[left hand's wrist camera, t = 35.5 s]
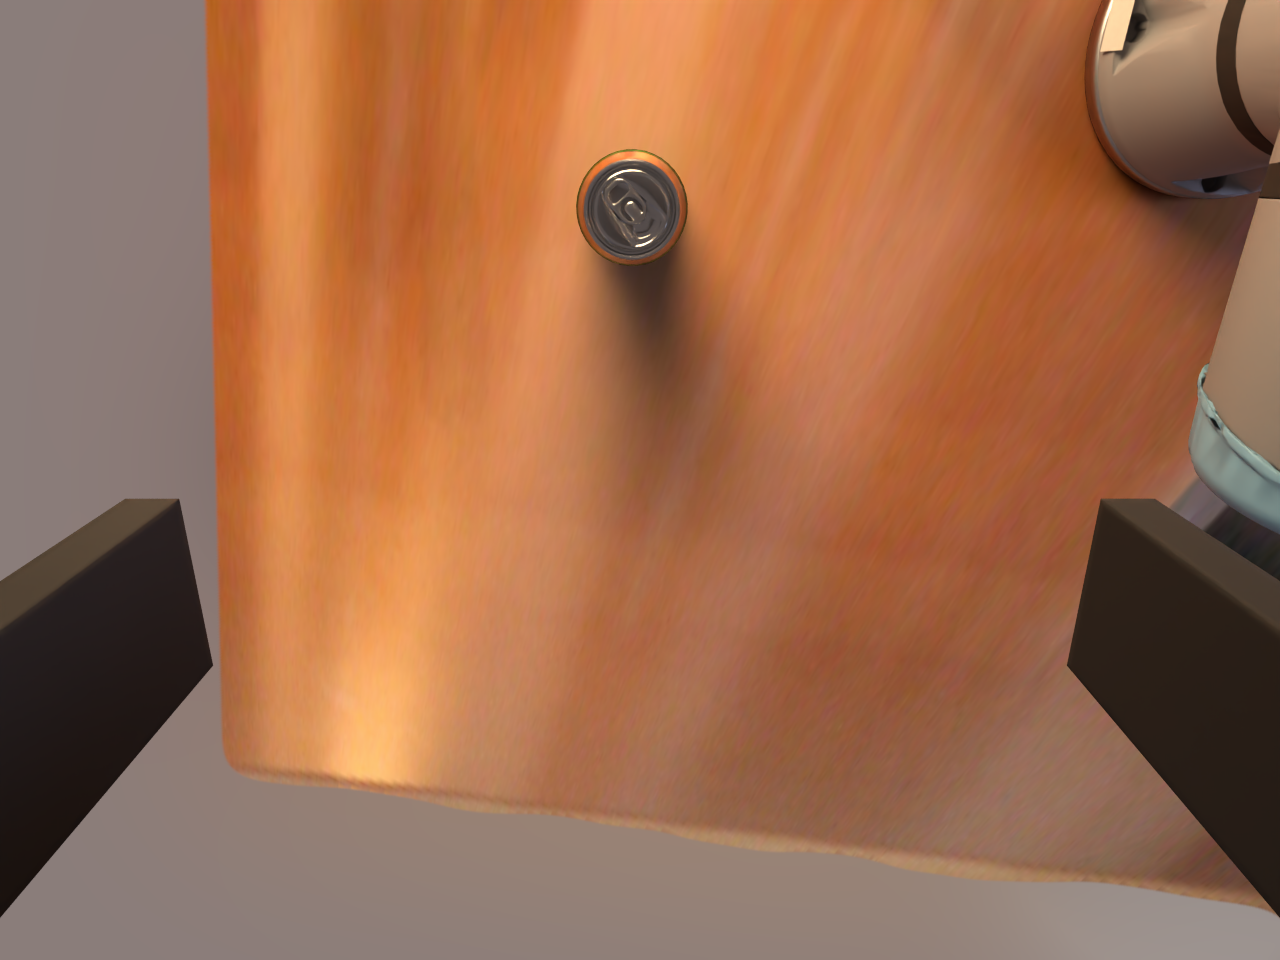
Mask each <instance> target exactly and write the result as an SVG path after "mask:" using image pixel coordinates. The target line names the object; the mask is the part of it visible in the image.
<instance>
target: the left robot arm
mask: <svg viewBox="0 0 1280 960" xmlns="http://www.w3.org/2000/svg"><path fill="white" fill-rule="evenodd" d="M1085 93H1086V100H1087V107H1088V111H1089V115H1090V119H1091V122H1092V125H1093V128H1094V130H1095V133H1096V135H1097V137H1098V139H1099V141H1100V143H1101V145H1102V146H1103V148H1104V149H1105V151H1106V153H1107V154H1108V155H1109V157H1110V158H1111V159H1112V160H1113V162H1114V163H1115V164H1116V165H1117V166H1118V167H1119V168H1120V169H1121V170H1122V171H1123V172H1124V173H1125V174H1127V175H1128V176H1129V177H1131V178H1132V179H1133V180H1135V181H1137V182H1138V183H1140V184H1142V185H1143V186H1145V187H1148V188H1150V189H1152V190H1155V191H1157V192H1160V193H1164V194H1167V195H1172V196H1177V197H1187V198H1201V199H1219V198H1228V197H1235V196H1240V195H1245V194H1250V193H1254V192H1258V191H1261V193H1260V196H1259V197H1260V198H1258V202H1257V205H1256V209H1255V212H1254V215H1253V219H1252V222H1251V225H1250V229H1249V232H1248V235H1247V239H1246V242H1245V245H1244V249H1243V252H1242V255H1241V259H1240V262H1239V265H1238V269H1237V272H1236V275H1235V279H1234V282H1233V285H1232V289H1231V292H1230V296H1229V299H1228V302H1227V306H1226V309H1225V312H1224V316H1223V319H1222V322H1221V326H1220V329H1219V332H1218V336H1217V339H1216V342H1215V346H1214V349H1213V352H1212V356H1211V359H1210V362H1209V363H1208V364H1206V365H1205V366H1204V367H1203V369H1202V371H1201V373H1200V375H1199V378H1198V383H1197V387H1198V398H1199V399H1198V403H1197V407H1196V411H1195V415H1194V419H1193V423H1192V427H1191V432H1190V436H1189V452H1190V455H1191V461H1192V463H1193V465H1194V469H1195V471H1196V473H1197V475H1198V476H1199V477H1200V479H1201V480H1202V481H1203V482H1204V484H1205V485H1206V486H1207V487H1208V488H1209V489H1210V490H1211V491H1212V492H1213V493H1214V494H1215V495H1216V496H1218V497H1219V498H1220V499H1221V500H1222V501H1224V502H1225V503H1226V504H1228V505H1229V506H1230V507H1232V508H1233V509H1235V510H1236V511H1238V512H1240V513H1241V514H1243V515H1244V516H1246V517H1248V518H1249V519H1251V520H1253V521H1255V522H1257V523H1258V524H1260V525H1262V526H1264V527H1266V528H1268V529H1270V530H1272V531H1274V532H1276V533H1278V534H1280V200H1278V199H1280V0H1102V2H1101V5H1100V7H1099V10H1098V12H1097V15H1096V17H1095V20H1094V24H1093V27H1092V30H1091V34H1090V38H1089V43H1088V47H1087V54H1086V62H1085ZM212 666H213V663H212V659H211V653H210V648H209V643H208V638H207V634H206V629H205V624H204V619H203V614H202V609H201V604H200V599H199V595H198V590H197V585H196V580H195V575H194V570H193V565H192V560H191V555H190V550H189V545H188V540H187V536H186V530H185V525H184V521H183V516H182V511H181V506H180V501H179V499H124V500H123V501H121V502H120V503H118V504H117V505H115V506H114V507H112V508H111V509H109V510H108V511H106V512H105V513H103V514H102V515H100V516H99V517H97V518H96V519H94V520H92V521H91V522H89V523H88V524H86V525H85V526H83V527H82V528H80V529H79V530H77V531H76V532H74V533H73V534H71V535H70V536H68V537H67V538H65V539H64V540H62V541H61V542H59V543H58V544H56V545H55V546H53V547H52V548H50V549H48V550H47V551H45V552H44V553H42V554H41V555H39V556H38V557H36V558H35V559H33V560H32V561H30V562H29V563H27V564H26V565H24V566H23V567H21V568H20V569H18V570H17V571H15V572H14V573H12V574H11V575H9V576H8V577H6V578H5V579H3V580H1V581H0V917H1V916H2V915H3V914H4V912H5V911H6V910H7V909H8V908H9V907H10V905H11V904H12V903H13V902H14V901H15V899H16V898H17V897H18V896H19V895H20V894H21V892H22V891H23V890H24V889H25V888H26V886H27V885H28V884H29V883H30V882H31V880H32V879H33V878H34V877H35V876H36V875H37V873H38V872H39V871H40V870H41V869H42V867H43V866H44V865H45V864H46V863H47V861H48V860H49V859H50V858H51V857H52V856H53V854H54V853H55V852H56V851H57V850H58V849H59V847H60V846H61V845H62V844H63V843H64V841H65V840H66V839H67V838H68V837H69V835H70V834H71V833H72V832H73V831H74V829H75V828H76V827H77V826H78V825H79V824H80V822H81V821H82V820H83V819H84V818H85V817H86V815H87V814H88V813H89V812H90V811H91V809H92V808H93V807H94V806H95V805H96V803H97V802H98V801H99V800H100V799H101V798H102V796H103V795H104V794H105V793H106V792H107V790H108V789H109V788H110V787H111V786H112V785H113V783H114V782H115V781H116V780H117V779H118V777H119V776H120V775H121V774H122V773H123V771H124V770H125V769H126V768H127V767H128V766H129V764H130V763H131V762H132V761H133V760H134V758H135V757H136V756H137V755H138V754H139V753H140V751H141V750H142V749H143V748H144V747H145V745H146V744H147V743H148V742H149V741H150V740H151V738H152V737H153V736H154V735H155V734H156V732H157V731H158V730H159V729H160V728H161V726H162V725H163V724H164V723H165V722H166V721H167V719H168V718H169V717H170V716H171V715H172V713H173V712H174V711H175V710H176V709H177V708H178V706H179V705H180V704H181V703H182V701H183V700H184V699H185V698H186V697H187V696H188V694H189V693H190V692H191V691H192V690H193V688H194V687H195V686H196V685H197V684H198V683H199V681H200V680H201V679H202V678H203V677H204V676H205V674H206V673H207V672H208V671H209V670H210V668H211V667H212ZM1067 666H1068V667H1069V668H1070V670H1071V671H1072V672H1073V673H1074V674H1075V676H1076V677H1077V678H1078V679H1079V680H1080V681H1081V683H1082V684H1083V685H1084V686H1085V687H1086V689H1087V690H1088V691H1089V692H1090V693H1091V694H1092V696H1093V697H1094V698H1095V699H1096V700H1097V702H1098V703H1099V704H1100V705H1101V706H1102V708H1103V709H1104V710H1105V711H1106V712H1107V713H1108V715H1109V716H1110V717H1111V718H1112V719H1113V721H1114V722H1115V723H1116V724H1117V725H1118V726H1119V728H1120V729H1121V730H1122V731H1123V732H1124V734H1125V735H1126V736H1127V737H1128V738H1129V740H1130V741H1131V742H1132V743H1133V744H1134V745H1135V747H1136V748H1137V749H1138V750H1139V751H1140V753H1141V754H1142V755H1143V756H1144V757H1145V758H1146V760H1147V761H1148V762H1149V763H1150V764H1151V766H1152V767H1153V768H1154V769H1155V770H1156V771H1157V773H1158V774H1159V775H1160V776H1161V777H1162V779H1163V780H1164V781H1165V782H1166V783H1167V785H1168V786H1169V787H1170V788H1171V789H1172V790H1173V792H1174V793H1175V794H1176V795H1177V796H1178V798H1179V799H1180V800H1181V801H1182V802H1183V803H1184V805H1185V806H1186V807H1187V808H1188V809H1189V811H1190V812H1191V813H1192V814H1193V815H1194V817H1195V818H1196V819H1197V820H1198V821H1199V822H1200V824H1201V825H1202V826H1203V827H1204V828H1205V830H1206V831H1207V832H1208V833H1209V834H1210V835H1211V837H1212V838H1213V839H1214V840H1215V841H1216V843H1217V844H1218V845H1219V846H1220V847H1221V849H1222V850H1223V851H1224V852H1225V853H1226V854H1227V856H1228V857H1229V858H1230V859H1231V860H1232V862H1233V863H1234V864H1235V865H1236V866H1237V867H1238V869H1239V870H1240V871H1241V872H1242V873H1243V875H1244V876H1245V877H1246V878H1247V879H1248V880H1249V882H1250V883H1251V884H1252V885H1253V886H1254V888H1255V889H1256V890H1257V891H1258V892H1259V894H1260V895H1261V896H1262V897H1263V898H1264V899H1265V901H1266V902H1267V903H1268V904H1269V905H1270V907H1271V908H1272V909H1273V910H1274V911H1275V912H1276V914H1277V915H1278V916H1279V917H1280V581H1279V580H1277V579H1276V578H1274V577H1272V576H1271V575H1269V574H1268V573H1266V572H1265V571H1263V570H1262V569H1260V568H1259V567H1257V566H1256V565H1254V564H1253V563H1251V562H1250V561H1248V560H1247V559H1245V558H1244V557H1242V556H1241V555H1239V554H1238V553H1236V552H1235V551H1233V550H1232V549H1230V548H1228V547H1227V546H1225V545H1224V544H1222V543H1221V542H1219V541H1218V540H1216V539H1215V538H1213V537H1212V536H1210V535H1209V534H1207V533H1206V532H1204V531H1203V530H1201V529H1200V528H1198V527H1197V526H1195V525H1194V524H1192V523H1191V522H1189V521H1188V520H1186V519H1184V518H1183V517H1181V516H1180V515H1178V514H1177V513H1175V512H1174V511H1172V510H1171V509H1169V508H1168V507H1166V506H1165V505H1163V504H1162V503H1160V502H1159V501H1157V500H1156V499H1101V501H1100V506H1099V511H1098V516H1097V521H1096V525H1095V530H1094V535H1093V540H1092V545H1091V550H1090V555H1089V560H1088V565H1087V570H1086V575H1085V580H1084V584H1083V589H1082V594H1081V599H1080V604H1079V609H1078V614H1077V619H1076V624H1075V629H1074V634H1073V638H1072V643H1071V648H1070V653H1069V658H1068V663H1067Z"/></svg>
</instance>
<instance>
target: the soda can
mask: <svg viewBox="0 0 1280 960" xmlns="http://www.w3.org/2000/svg"><path fill="white" fill-rule="evenodd" d="M576 207H577V218H578V223H579V226H580V229H581V232H582V234H583V236H584V237H585V239H586V241H587V242H588V243H589V245H590V246H591V247H592V248H593V249H594V250H595V251H596V252H597V253H598V254H599V255H601V256H602V257H604V258H605V259H607V260H609V261H611V262H614V263H617V264H620V265H627V266H638V265H644V264H647V263H650V262H653V261H655V260H657V259H659V258H661V257H662V256H664V255H665V254H666V253H668V252H669V251H670V250H671V249H672V247H673V246H674V245H675V244H676V242H677V241H678V240H679V238H680V236H681V234H682V232H683V230H684V227H685V223H686V219H687V197H686V192H685V189H684V186H683V184H682V182H681V179H680V177H679V176H678V175H677V173H676V172H675V170H674V169H673V168H672V167H671V166H670V165H669V164H668V163H667V162H666V161H664V160H663V159H662V158H660V157H658V156H656V155H654V154H652V153H649V152H646V151H642V150H636V149H632V150H622V151H617V152H614V153H612V154H609V155H607V156H605V157H604V158H602V159H601V160H599V161H598V162H597V163H596V164H594V166H593V167H592V168H591V169H590V170H589V171H588V173H587V174H586V176H585V177H584V179H583V181H582V183H581V186H580V189H579V192H578V196H577V205H576Z"/></svg>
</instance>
